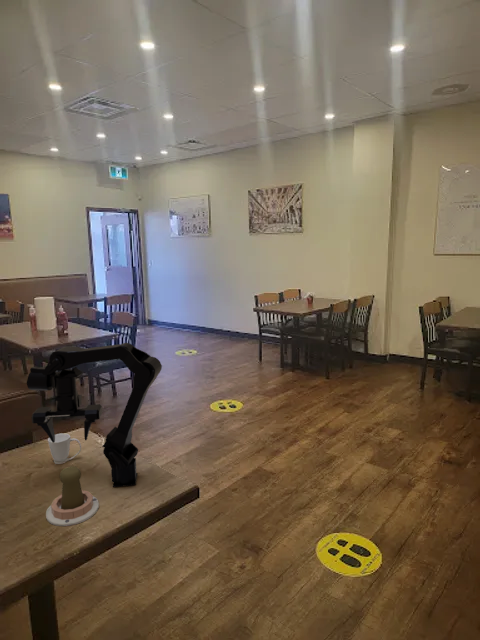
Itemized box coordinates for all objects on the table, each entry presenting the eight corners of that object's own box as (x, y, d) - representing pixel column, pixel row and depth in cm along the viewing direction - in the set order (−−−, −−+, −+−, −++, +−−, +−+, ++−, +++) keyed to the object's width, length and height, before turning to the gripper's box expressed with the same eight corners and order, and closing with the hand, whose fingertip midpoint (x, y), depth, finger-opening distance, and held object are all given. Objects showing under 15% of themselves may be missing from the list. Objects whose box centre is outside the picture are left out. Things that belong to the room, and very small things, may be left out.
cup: (51, 457, 144) (49, 434, 143) (82, 453, 146) (81, 430, 145) (47, 467, 137) (45, 443, 136) (81, 463, 140) (79, 439, 138)
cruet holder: (102, 494, 122) (102, 485, 121) (93, 523, 109) (92, 513, 109) (54, 498, 120) (53, 489, 120) (39, 528, 107) (38, 518, 107)
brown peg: (76, 515, 111) (73, 476, 109) (55, 513, 112) (52, 473, 110) (89, 502, 117) (86, 464, 115) (69, 499, 118) (66, 462, 116)
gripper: (103, 380, 135) (106, 427, 138) (41, 383, 133) (45, 431, 135) (97, 392, 124) (100, 443, 127) (28, 395, 122) (33, 447, 125)
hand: (70, 440), depth 129 cm, fingers open, 9 cm apart
